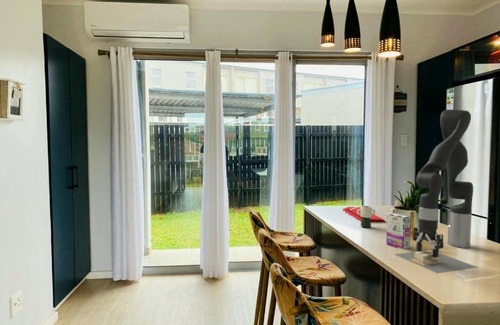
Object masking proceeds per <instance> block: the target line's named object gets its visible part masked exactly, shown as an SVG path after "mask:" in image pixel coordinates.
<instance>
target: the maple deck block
mask: <svg viewBox="0 0 500 325" xmlns="http://www.w3.org/2000/svg"><path fill="white" fill-rule="evenodd" d="M428 250H429V251H427V250H422V251H420V252H418V251H413V252H414V260H415V261H418V262H420V263H422V264H425V263H433V262H439V256H440V254H438V257H436V258H434V257H432V254H433V250H432V251H431V249H428Z"/></svg>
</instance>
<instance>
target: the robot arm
mask: <svg viewBox="0 0 500 325" xmlns="http://www.w3.org/2000/svg"><path fill="white" fill-rule="evenodd" d="M471 116H472V115H471V112H470V111H469V110H463V109H444V110H443V111H442V112H441V114H440V119H439V124H440V128H441V129H440V130H441V134H442V138H443V141H442V142H440V143H439V144H438V145H436V146H435V148H433V150H432V152H431V155H430V156H429V159H428V161H427V162H426V164H424V166H423V167H422V168H421V169H420V170H419V171H418V173H417V175H416V180H415V182H416V185H417V186H418V187H420V188H422V189H423V188H424V189H429V190H428V191H427V193H421V195H420V196H419V208H418V221H417V222H418V227H417V226H416V227H413V230H412V241H414V242H415V243H416V247H415V248H416V252H420V251H423V241H426V242H428V244H430V246H431V247H432V251H433V254H432V257H434V258H436V257H438V254H439V253H440V249H444V234H442V233H437V230H438V227H439V225H438V224H439V197H440V194H441V192H442V189H443V186H444V178H443V176H442V174H440V173H439V172H443V170H445V169H446V172H447V173H446V174H447V194H448V196H449V198H451V199H454V200H462V201H463V200H464V201H463V202H462V203H459V204H454V205H452V206H450V209H449V210H450V211H449V213H450V214H449V224H448V226H447V242H446V243H447V244H449V245H450V246H452V247H456V248H461V249H468V248H471V234H472V209H473V208H472V207H473V196H474V185H473V183H472V181H471V182H470V181H460V180H456V179H457V177H458V176H459V175H460V174H461V173H462V172H463V171H464V169H465V168H466V167H467V166H468V163H469V157H468V156H469V155H468V150H467V148H466V146H465V145H464V144H463V143H462V141H461V139H462V138H463V136H464V135H465V133H466V132H467V130H468V129H469V126H470V124H471V119H472V117H471Z"/></svg>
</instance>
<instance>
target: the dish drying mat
mask: <svg viewBox="0 0 500 325" xmlns="http://www.w3.org/2000/svg"><path fill="white" fill-rule="evenodd" d="M360 207H361V206H348V207H344V208H342V211H343V212H344V211H345V212H344V213H346V214H347V213H348V215H349V216H351V217H352V216H353V217H352V218H354V217H355V218H354V219H356V220H358V221H359V220H360V222H361V220H362V217H361V216H360V214H357V209H360ZM359 213H360V211H359ZM370 221H371V222H385V223H387V220H385V219H384V218H382V217H380V216H378V215H377V214H375V215H372V217H370Z"/></svg>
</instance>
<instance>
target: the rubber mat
mask: <svg viewBox="0 0 500 325" xmlns="http://www.w3.org/2000/svg"><path fill="white" fill-rule="evenodd" d="M429 250H431V249H428V250H426V251H429ZM431 251H433V249H432V250H431ZM414 252H415V251H413V252H412V251H410V252H404V253H402V252H400V253H394V256H396V257H399V258H401V259H404V260H405V261H407V262H410V263H413V264H416V265H417V266H420V267H422V268H425V269H426V270H430V271H431V272H433V273H435V274H441V273H448V272H455V271H462V270H469V269H478V266H475V265H473V264H470V263H468V262H465V261H462V260H460V259H456V258H454V257H451V256H448V255H446V254H442V253H440V252H439V254H440V256H439V262H433V263H425V264H422V263H420V262H418V261H415V260H414Z"/></svg>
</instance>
